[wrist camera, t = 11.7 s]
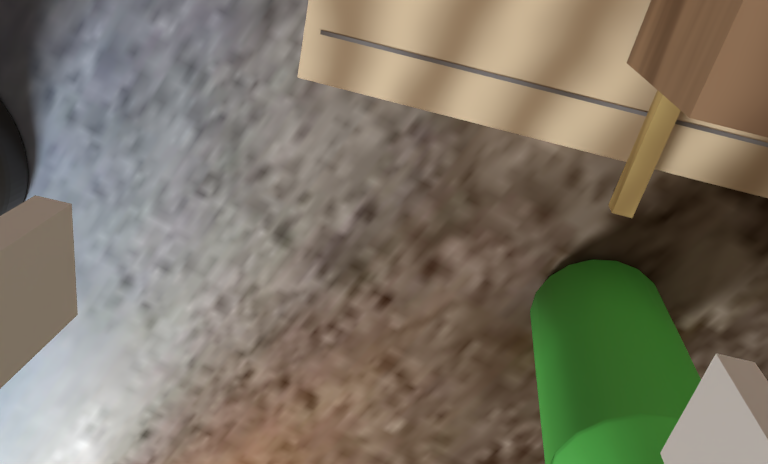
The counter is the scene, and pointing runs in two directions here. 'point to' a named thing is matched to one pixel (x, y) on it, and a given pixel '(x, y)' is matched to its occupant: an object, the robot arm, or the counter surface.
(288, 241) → the counter surface
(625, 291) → the bottle
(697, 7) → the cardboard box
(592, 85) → the board
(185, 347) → the counter surface
